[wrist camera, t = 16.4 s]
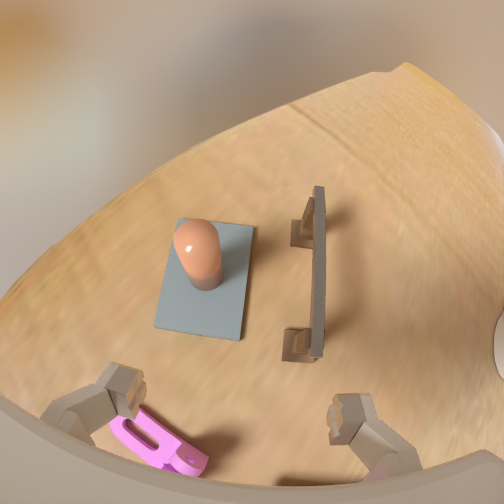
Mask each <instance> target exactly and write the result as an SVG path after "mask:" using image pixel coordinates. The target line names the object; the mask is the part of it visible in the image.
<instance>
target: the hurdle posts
mask: <svg viewBox="0 0 504 504" xmlns="http://www.w3.org/2000/svg"><path fill="white" fill-rule="evenodd" d="M325 213H326V209H325ZM290 246H292V247H300V248H308V249H313V198H312V197H310V198H309V200H308V203H307V206H306V209H305V211H304V214H303V217H302V219H301V221H300V220H292V223H291V242H290ZM309 329H310V328H305V329H304V330H302V331H299V330H288V329H285V330H284V340H283V351H282V361H289V362H304V363H314V358H307V357H308V344H309ZM324 333H325V329H324ZM323 349H324V342H323Z"/></svg>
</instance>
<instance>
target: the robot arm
mask: <svg viewBox="0 0 504 504" xmlns="http://www.w3.org/2000/svg"><path fill="white" fill-rule="evenodd" d="M494 357H495V363H496V366H497V369H498V372H499V374H500V375H501V377H502V378H503V379H504V311H503V313H502V315H501V316H500V318H499V320H498V322H497V325H496V329H495V334H494ZM143 377H144V374H143V371H142V370H139V369H135V368H132V367H128V366H125V365H122V364H118V363H115V362H110V363H109V364H108V365H107V367H106V368H105V370H104V371H103V373H102V374H101V375H100V377H99V378H98V380H97V381H96V383H95V384H90V385H88V386H86V387H83V388H81V389H79V390H77V391H74V392H72V393H70V394H67V395H65V396H63V397H61V398H58V399H56V400H53V401H52V402H51V404H50V405H49V406H48V408H47V409H46V410H45V412H44V413H43V415H42V416H41V418H40V419H39V418H37V417H36V416H34V415H32V414H31V413H29V412H27V411H26V410H24V409H23V408H21V407H20V406H18V405H16V404H15V403H13V402H12V401H11V400H9V399H8V398H6V397H5V396H3V395H2V394H1V393H0V504H504V461H503V460H502V459H501V458H499V457H498V456H496V455H495V454H493V453H491V452H489V451H487V450H485V449H482V450H478V451H476V452H473V453H471V454H468V455H466V456H463V457H460V458H458V459H455V460H452V461H449V462H446V463H443V464H440V465H437V466H433V467H430V468H427V469H422V466H421V463H420V460H419V457H418V454H417V451H416V448H415V447H414V446H412V445H411V444H410V443H409V442H407V441H406V440H405V439H404V438H402V437H401V436H400V435H399V434H398V433H396V432H395V431H394V430H393V429H391V428H390V427H389V426H388V425H387V424H385V423H384V422H383V421H382V420H378V417H377V414H376V411H375V408H374V404H373V401H372V398H371V395H370V394H369V393H358V394H357V393H348V394H335V395H334V397H333V404H332V405H330V406H329V409H328V412H327V425H328V426H329V427H330V428H331V430H330V431H329V440H330V445H349V447H350V448H351V449H352V450H353V452H354V453H355V454H356V455H357V456H358V457H359V459H360V460H361V461H362V462H363V463H364V464H365V466H366V467H367V468H368V469H369V470H370V472H369V473H368V474H367V475H366V476H365V477H364V478H363V479H362V480H361V482H358V483H349V484H339V485H326V486H263V485H249V484H239V483H231V482H223V481H216V480H210V479H204V478H199V477H193V476H188V475H184V474H179V473H175V472H171V471H167V470H163V469H159V468H156V467H152V466H149V465H145V464H142V463H139V462H136V461H133V460H130V459H127V458H124V457H121V456H118V455H115V454H113V453H110V452H107V451H105V450H102V449H100V448H97V447H95V446H96V445H95V443H94V441H93V440H92V438H91V436H90V434H92V433H93V432H95V431H96V430H98V429H99V428H101V427H102V426H104V425H105V424H107V423H108V422H110V421H111V420H113V419H114V418H116V417H117V416H118V415H119V416H122V417H125V418H129V419H132V420H135V419H136V417H137V414H138V412H139V410H140V408H139V404H141V403H143V402H144V399H145V397H146V392H147V387H146V383H145V382H144V381H143V380H142V379H143Z"/></svg>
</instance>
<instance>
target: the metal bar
mask: <svg viewBox="0 0 504 504" xmlns="http://www.w3.org/2000/svg"><path fill="white" fill-rule="evenodd" d="M325 295H326V222H325V193H324V187H321V186H314V189H313V258H312V290H311V312H310V329H309V344H308V357H307V358H322V357H323V342H324V323H325Z"/></svg>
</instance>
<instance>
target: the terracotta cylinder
mask: <svg viewBox="0 0 504 504" xmlns="http://www.w3.org/2000/svg"><path fill="white" fill-rule="evenodd" d="M173 243H174V247H175V250H176V252H177V254H178V256H179V259H180V261H181V263H182V265H183V267H184V269H185V272H186V274H187V276H188V278H189V280H190V282H191V284H192V285H193V286H194V287H195V288H196V289H198V290H201V291H210V290H213V289H215V288H217V287H218V286H219V285H220V283H221V282H222V280H223V275H224V274H223V266H222V258H221V250H220V242H219V235H218V231H217V229H216V228H215V226H214V225H213V224H211V223H210V222H208V221H206V220H202V219H193V220H189V221H187V222H185V223H183V224H182V225H181V226H180V227H179V228H178V229H177V231H176V232H175V235H174V239H173Z"/></svg>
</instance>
